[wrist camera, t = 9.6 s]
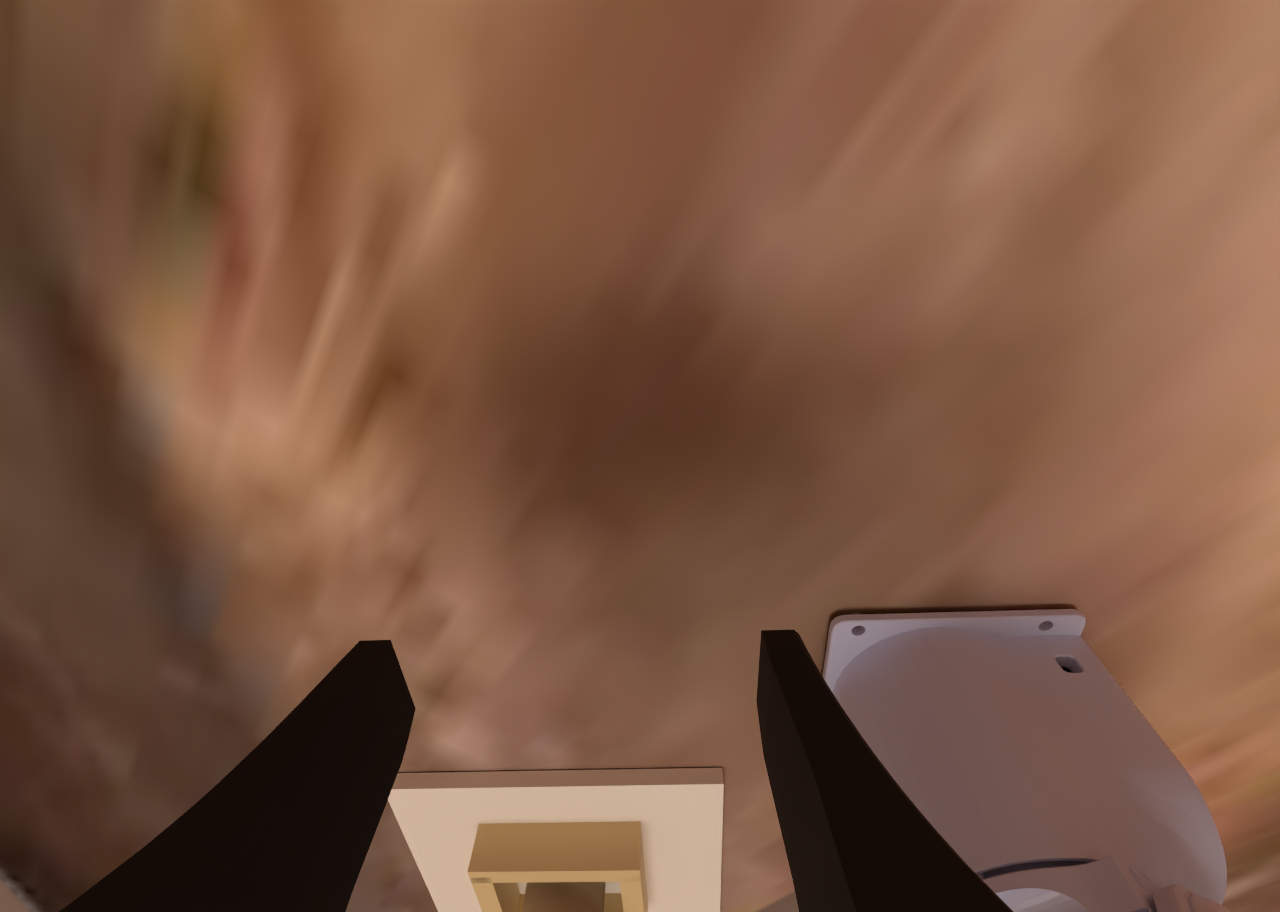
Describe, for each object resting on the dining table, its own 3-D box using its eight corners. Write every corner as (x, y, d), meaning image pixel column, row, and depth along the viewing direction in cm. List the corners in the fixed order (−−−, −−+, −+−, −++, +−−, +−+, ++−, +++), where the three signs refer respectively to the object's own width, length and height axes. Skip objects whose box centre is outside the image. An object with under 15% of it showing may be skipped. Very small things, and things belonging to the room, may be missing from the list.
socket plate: (721, 767, 29) (728, 833, 27) (718, 911, 36) (723, 974, 34) (389, 773, 30) (364, 837, 27) (449, 913, 37) (434, 974, 34)
